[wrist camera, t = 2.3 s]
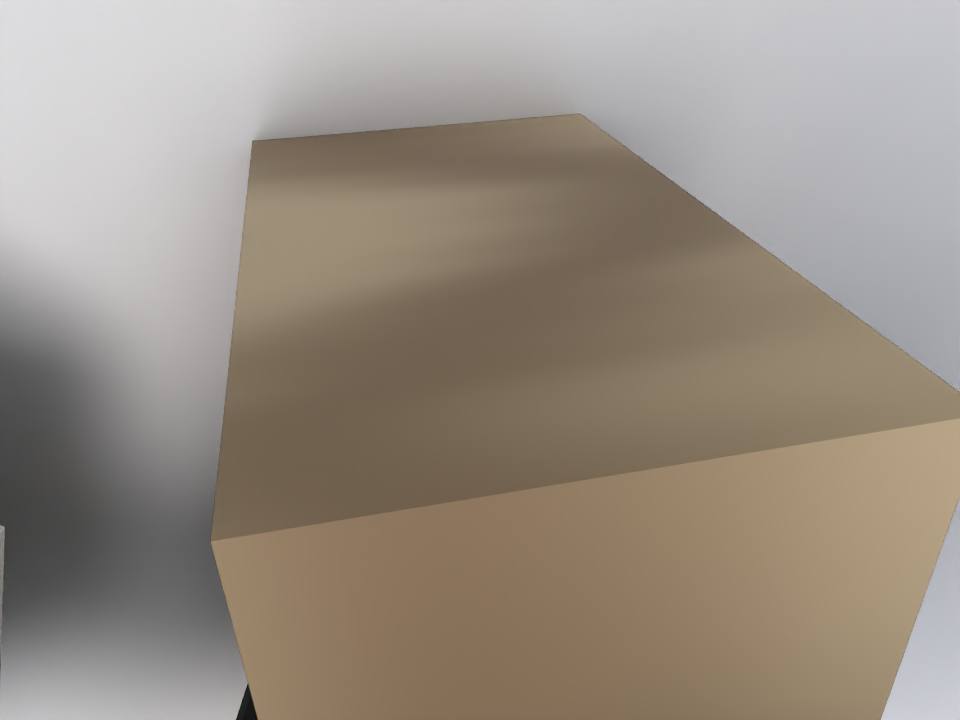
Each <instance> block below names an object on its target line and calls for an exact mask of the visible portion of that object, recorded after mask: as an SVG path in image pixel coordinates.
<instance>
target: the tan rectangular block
mask: <svg viewBox="0 0 960 720" xmlns="http://www.w3.org/2000/svg"><path fill="white" fill-rule="evenodd" d="M959 497H960V392H959V391H957V390H956V389H955V388H953V387H952V386H951V385H949V384H948V383H947V382H945V381H944V380H942V379H941V378H940V377H938V376H937V375H936V374H934V373H933V372H932V371H930V370H929V369H927V368H926V367H925V366H923V365H922V364H921V363H919V362H918V361H917V360H915V359H914V358H913V357H911V356H910V355H908V354H907V353H906V352H904V351H903V350H902V349H900V348H899V347H898V346H896V345H895V344H893V343H892V342H891V341H889V340H888V339H887V338H885V337H884V336H883V335H881V334H880V333H878V332H877V331H876V330H874V329H873V328H872V327H870V326H869V325H868V324H866V323H865V322H863V321H862V320H861V319H859V318H858V317H857V316H855V315H854V314H853V313H851V312H850V311H848V310H847V309H846V308H844V307H843V306H842V305H840V304H839V303H838V302H836V301H835V300H833V299H832V298H831V297H829V296H828V295H827V294H825V293H824V292H823V291H821V290H820V289H818V288H817V287H816V286H814V285H813V284H812V283H810V282H809V281H808V280H806V279H805V278H803V277H802V276H801V275H799V274H798V273H797V272H795V271H794V270H793V269H791V268H790V267H788V266H787V265H786V264H784V263H783V262H782V261H780V260H779V259H778V258H776V257H775V256H774V255H772V254H771V253H769V252H768V251H767V250H765V249H764V248H763V247H761V246H760V245H759V244H757V243H756V242H754V241H753V240H752V239H750V238H749V237H748V236H746V235H745V234H744V233H742V232H741V231H739V230H738V229H737V228H735V227H734V226H733V225H731V224H730V223H729V222H727V221H726V220H724V219H723V218H722V217H720V216H719V215H718V214H716V213H715V212H714V211H712V210H711V209H709V208H708V207H707V206H705V205H704V204H703V203H701V202H700V201H699V200H697V199H696V198H694V197H693V196H692V195H690V194H689V193H688V192H686V191H685V190H684V189H682V188H681V187H679V186H678V185H677V184H675V183H674V182H673V181H671V180H670V179H669V178H667V177H666V176H664V175H663V174H662V173H660V172H659V171H658V170H656V169H655V168H654V167H652V166H651V165H650V164H648V163H647V162H645V161H644V160H643V159H641V158H640V157H639V156H637V155H636V154H635V153H633V152H632V151H630V150H629V149H628V148H626V147H625V146H624V145H622V144H621V143H620V142H618V141H617V140H615V139H614V138H613V137H611V136H610V135H609V134H607V133H606V132H605V131H603V130H602V129H600V128H599V127H598V126H596V125H595V124H594V123H592V122H591V121H590V120H588V119H587V118H585V117H584V116H583V115H581V114H570V115H558V116H546V117H534V118H522V119H510V120H498V121H486V122H475V123H463V124H451V125H439V126H427V127H415V128H403V129H391V130H379V131H367V132H356V133H344V134H332V135H320V136H308V137H296V138H284V139H272V140H260V141H252V151H251V160H250V170H249V179H248V189H247V198H246V208H245V217H244V227H243V236H242V246H241V255H240V265H239V274H238V284H237V293H236V303H235V312H234V322H233V331H232V341H231V351H230V360H229V370H228V379H227V389H226V398H225V408H224V417H223V427H222V436H221V446H220V455H219V465H218V474H217V484H216V493H215V503H214V512H213V522H212V531H211V541H210V542H211V546H212V549H213V553H214V557H215V561H216V564H217V568H218V572H219V576H220V579H221V583H222V587H223V591H224V594H225V598H226V602H227V605H228V609H229V613H230V617H231V620H232V624H233V628H234V632H235V635H236V639H237V643H238V647H239V650H240V654H241V658H242V662H243V665H244V669H245V673H246V677H247V680H248V684H249V688H250V692H251V695H252V699H253V703H254V707H255V710H256V714H257V718H258V720H881V717H882V714H883V711H884V709H885V706H886V703H887V700H888V697H889V694H890V692H891V689H892V686H893V683H894V680H895V677H896V675H897V672H898V669H899V666H900V663H901V661H902V658H903V655H904V652H905V649H906V646H907V644H908V641H909V638H910V635H911V632H912V629H913V627H914V624H915V621H916V618H917V615H918V613H919V610H920V607H921V604H922V601H923V598H924V596H925V593H926V590H927V587H928V584H929V581H930V579H931V576H932V573H933V570H934V567H935V565H936V562H937V559H938V556H939V553H940V550H941V548H942V545H943V542H944V539H945V536H946V533H947V531H948V528H949V525H950V522H951V519H952V517H953V514H954V511H955V508H956V505H957V502H958V500H959Z"/></svg>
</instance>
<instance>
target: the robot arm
mask: <svg viewBox="0 0 960 720" xmlns="http://www.w3.org/2000/svg"><path fill="white" fill-rule="evenodd" d="M236 720H258V718H257V714H256V710H255V707H254V703H253V699H252V695H251V692H250V688H249V684H247V687H246V690H245V694H244V697H243V700H242V703H241V706H240V709H239V712H238V715H237V718H236Z"/></svg>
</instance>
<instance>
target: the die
mask: <svg viewBox="0 0 960 720" xmlns="http://www.w3.org/2000/svg"><path fill="white" fill-rule="evenodd" d="M4 539H5V527H3V526H2V525H0V669H1V637H2V604H3V572H4Z"/></svg>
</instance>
